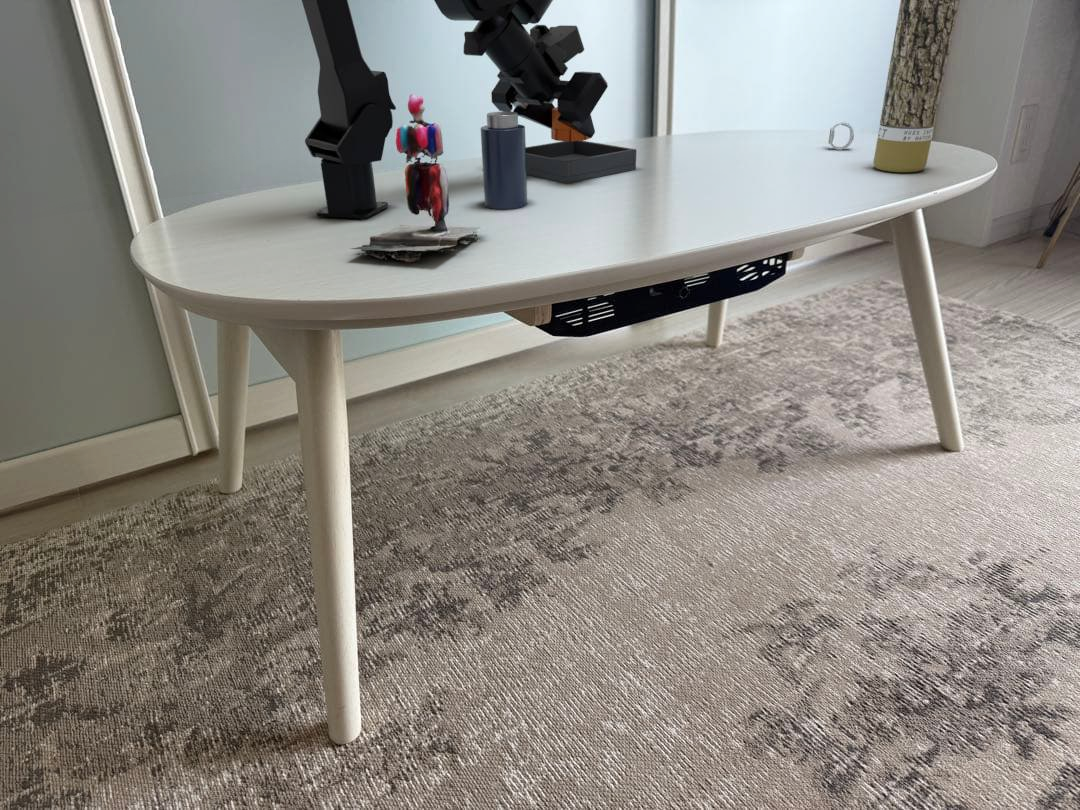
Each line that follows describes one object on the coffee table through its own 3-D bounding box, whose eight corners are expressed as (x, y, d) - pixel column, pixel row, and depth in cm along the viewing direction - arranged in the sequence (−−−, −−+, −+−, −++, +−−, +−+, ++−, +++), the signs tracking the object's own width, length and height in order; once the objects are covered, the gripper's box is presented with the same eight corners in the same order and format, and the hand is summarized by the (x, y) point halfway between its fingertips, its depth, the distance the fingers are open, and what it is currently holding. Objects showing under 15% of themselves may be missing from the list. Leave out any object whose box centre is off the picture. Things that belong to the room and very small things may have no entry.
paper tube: (929, 166, 109) (970, -39, 98) (920, 175, 104) (963, -40, 92) (878, 162, 112) (912, -37, 101) (867, 171, 107) (902, -38, 96)
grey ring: (852, 148, 123) (855, 121, 121) (852, 150, 121) (855, 123, 119) (827, 148, 124) (831, 121, 122) (827, 150, 122) (830, 123, 121)
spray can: (520, 210, 92) (517, 116, 88) (478, 208, 94) (473, 116, 89) (532, 200, 97) (529, 110, 92) (492, 198, 98) (488, 110, 93)
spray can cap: (595, 139, 110) (596, 109, 108) (559, 142, 108) (559, 111, 106) (582, 134, 114) (582, 105, 112) (547, 136, 113) (546, 107, 111)
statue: (402, 243, 85) (392, 96, 80) (481, 247, 83) (477, 94, 77) (349, 260, 76) (334, 93, 70) (437, 265, 73) (428, 92, 68)
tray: (567, 183, 105) (567, 162, 104) (507, 170, 114) (506, 150, 113) (636, 169, 112) (636, 149, 111) (574, 157, 122) (574, 139, 120)
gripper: (597, 1, 95) (655, 91, 106) (504, 3, 107) (564, 83, 119) (549, 76, 94) (613, 158, 105) (461, 69, 107) (526, 143, 118)
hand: (578, 132), depth 112 cm, fingers closed on spray can cap, 5 cm apart
